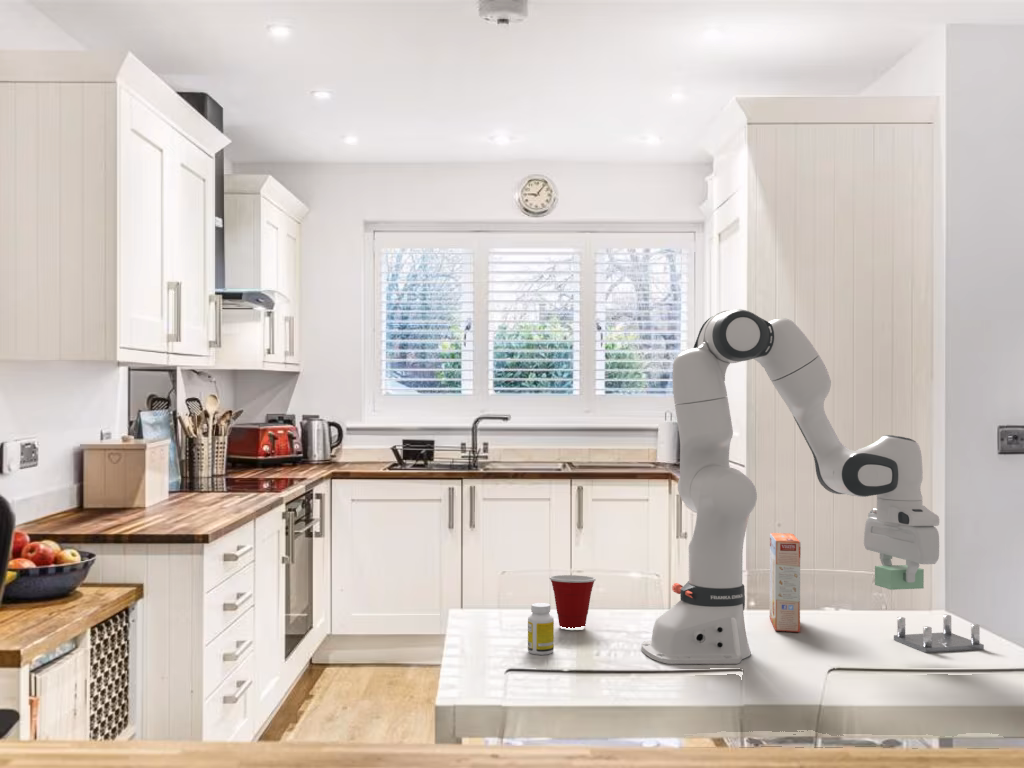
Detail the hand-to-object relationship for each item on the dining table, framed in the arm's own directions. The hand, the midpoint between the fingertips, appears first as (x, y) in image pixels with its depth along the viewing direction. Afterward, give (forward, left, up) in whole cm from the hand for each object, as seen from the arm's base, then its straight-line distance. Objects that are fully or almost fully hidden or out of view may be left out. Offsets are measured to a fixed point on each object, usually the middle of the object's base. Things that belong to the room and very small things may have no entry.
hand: (898, 578), depth 184 cm
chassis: (+12, +4, -15) cm, 20 cm away
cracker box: (-12, +26, -16) cm, 32 cm away
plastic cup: (-62, +33, -16) cm, 72 cm away
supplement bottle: (-74, +15, -16) cm, 77 cm away
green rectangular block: (0, 0, -2) cm, 2 cm away
